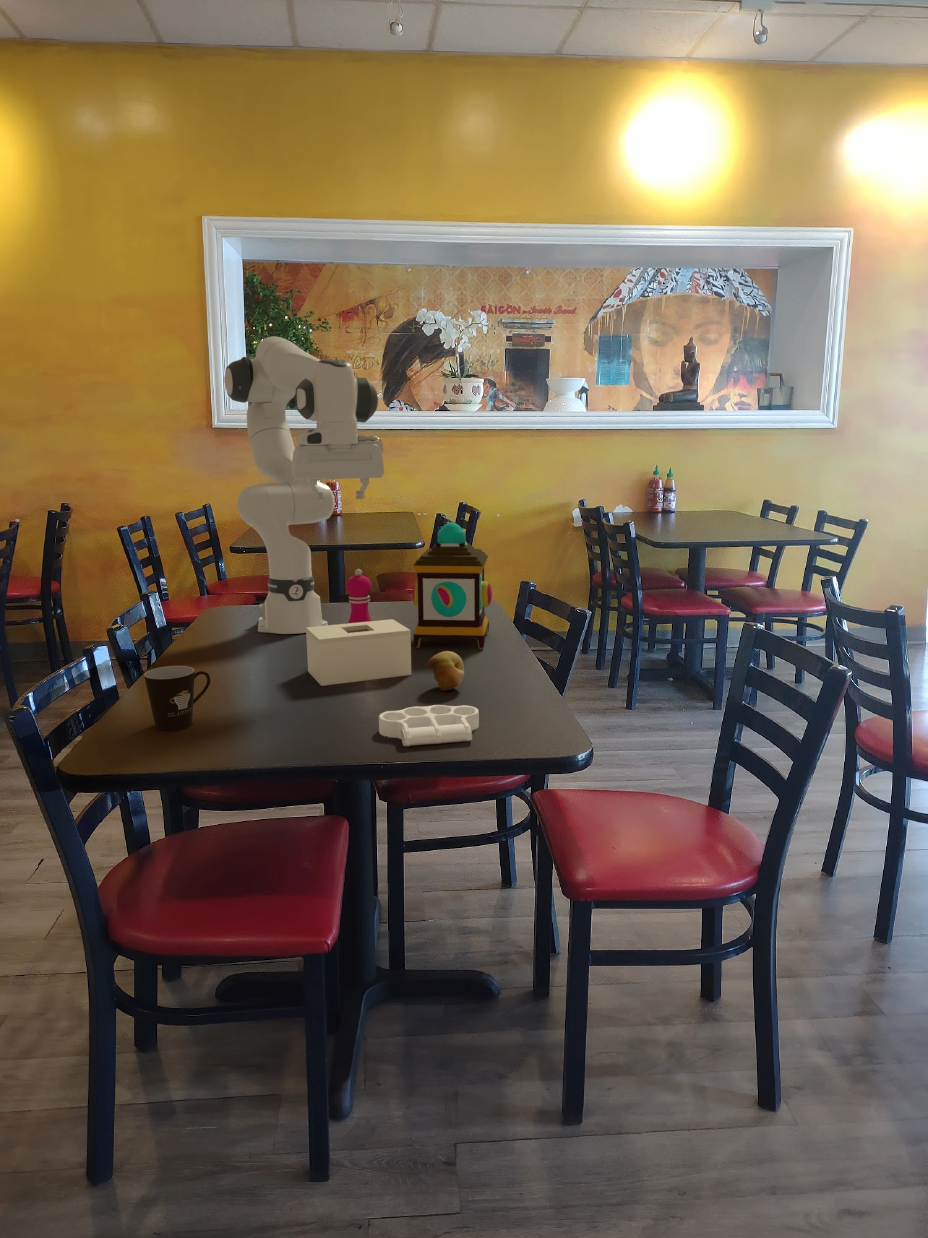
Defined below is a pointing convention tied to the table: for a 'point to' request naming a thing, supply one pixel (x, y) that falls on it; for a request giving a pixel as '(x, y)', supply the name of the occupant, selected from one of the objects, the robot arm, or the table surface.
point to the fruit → (447, 669)
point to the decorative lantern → (451, 589)
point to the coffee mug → (173, 696)
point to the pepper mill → (359, 597)
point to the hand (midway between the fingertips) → (339, 499)
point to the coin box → (358, 651)
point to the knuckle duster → (430, 724)
